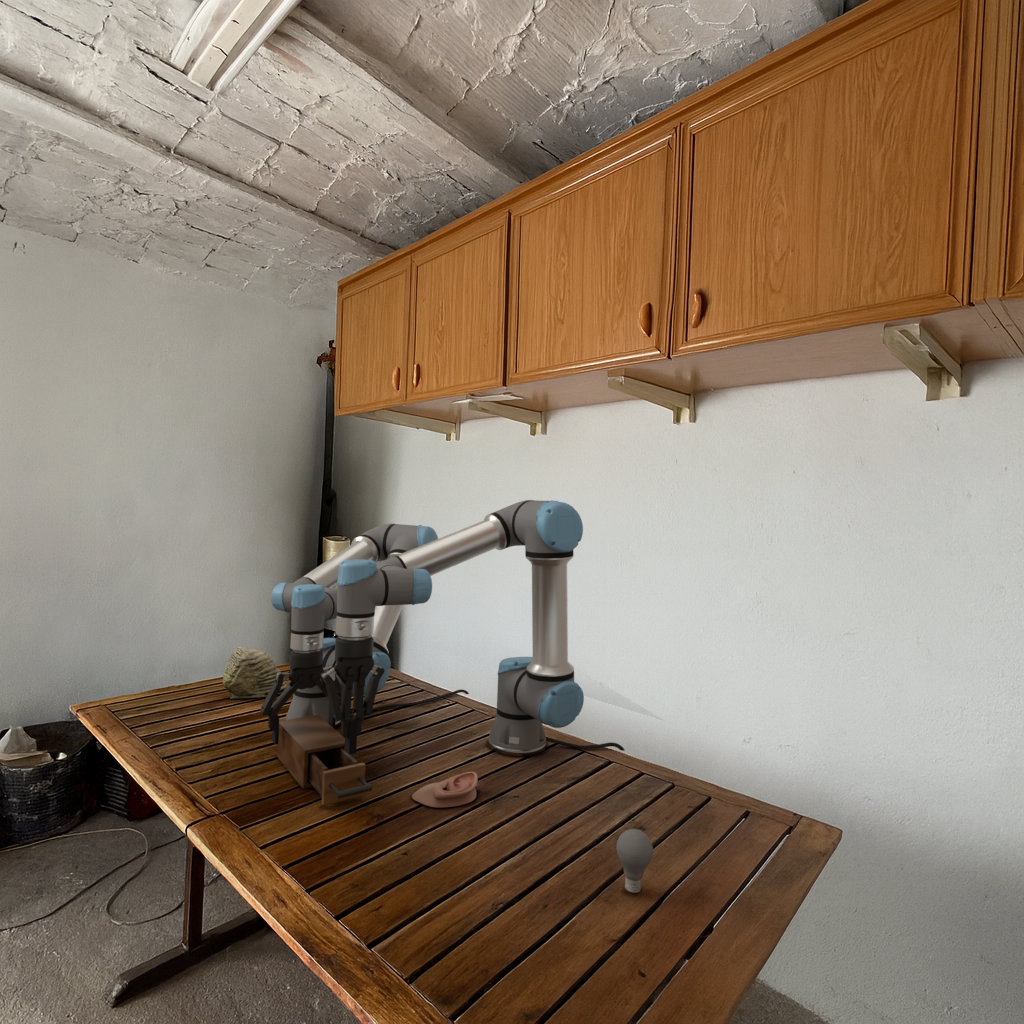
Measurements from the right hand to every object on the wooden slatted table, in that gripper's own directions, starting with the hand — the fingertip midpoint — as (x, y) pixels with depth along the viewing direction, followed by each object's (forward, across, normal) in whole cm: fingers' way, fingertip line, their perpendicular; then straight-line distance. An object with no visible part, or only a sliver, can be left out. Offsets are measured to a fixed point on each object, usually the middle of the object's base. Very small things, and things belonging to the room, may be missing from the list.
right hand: (350, 751), depth 129 cm
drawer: (+11, 0, +9) cm, 14 cm away
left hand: (+7, 0, +30) cm, 30 cm away
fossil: (+12, +2, +84) cm, 85 cm away
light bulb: (+12, +30, -50) cm, 60 cm away
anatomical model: (+12, +20, -5) cm, 24 cm away
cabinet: (+12, 0, +24) cm, 26 cm away
